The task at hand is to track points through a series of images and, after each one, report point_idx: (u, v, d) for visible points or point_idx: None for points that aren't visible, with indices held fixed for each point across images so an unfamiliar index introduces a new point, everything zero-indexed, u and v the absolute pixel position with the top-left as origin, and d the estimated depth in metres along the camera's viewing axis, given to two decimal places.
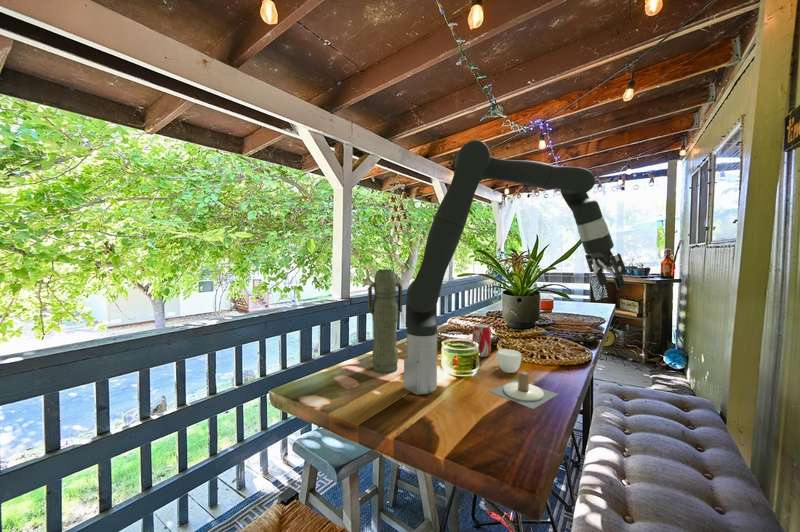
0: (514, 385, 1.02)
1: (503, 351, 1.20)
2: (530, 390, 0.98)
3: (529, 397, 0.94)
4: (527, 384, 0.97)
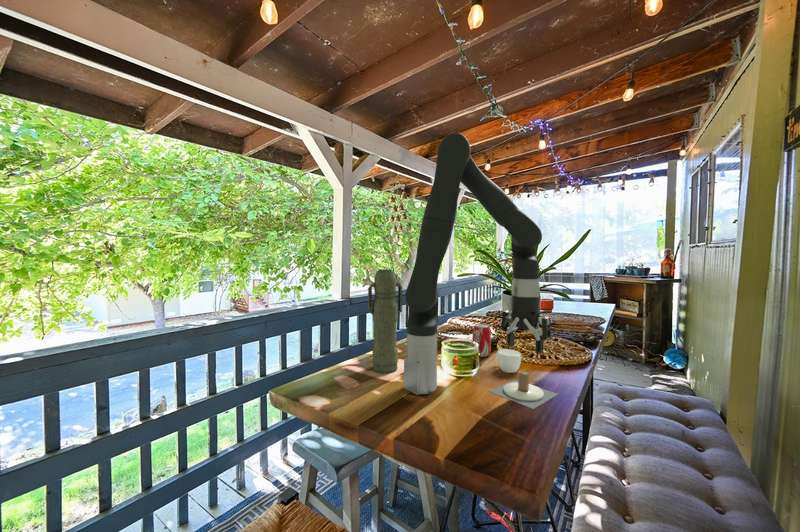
0: (514, 385, 1.02)
1: (503, 351, 1.20)
2: (530, 390, 0.98)
3: (529, 397, 0.94)
4: (527, 384, 0.97)
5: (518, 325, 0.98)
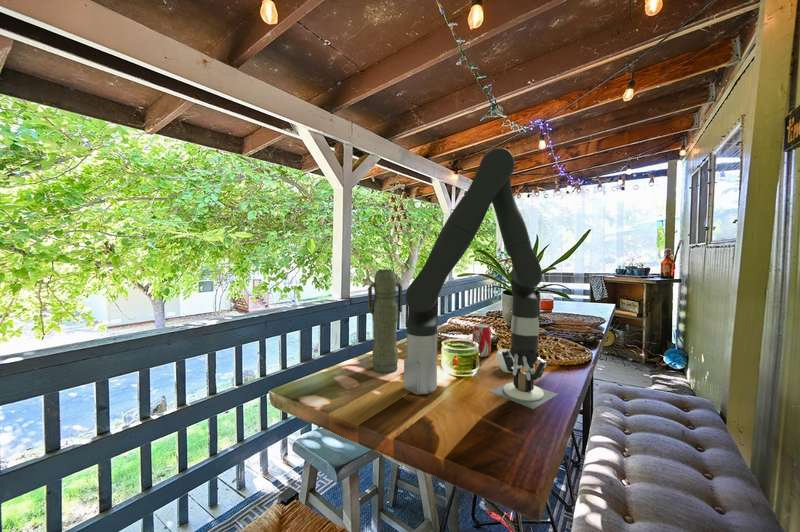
0: (514, 385, 1.02)
1: (503, 351, 1.20)
2: None
3: (529, 397, 0.94)
4: None
5: (520, 362, 0.98)
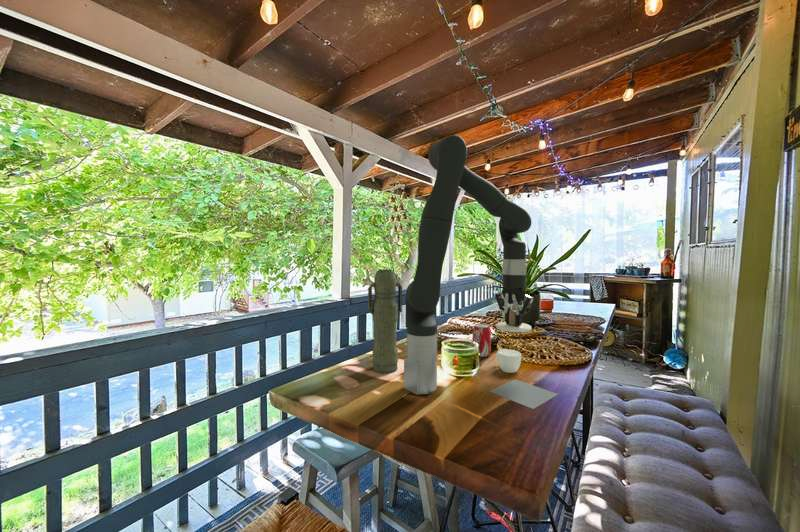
0: None
1: (503, 351, 1.20)
2: None
3: (518, 329, 1.06)
4: None
5: (510, 300, 1.10)
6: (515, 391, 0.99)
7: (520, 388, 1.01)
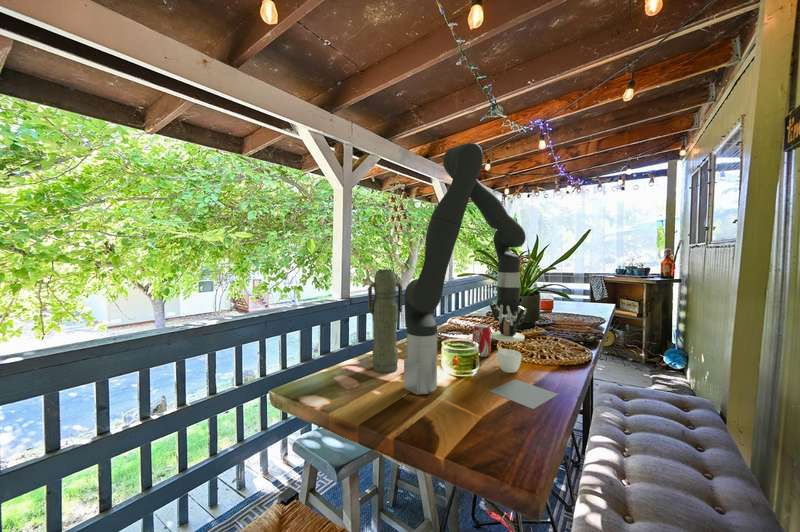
0: None
1: (503, 351, 1.20)
2: None
3: (512, 338, 1.12)
4: None
5: (504, 311, 1.16)
6: (515, 391, 0.99)
7: (520, 388, 1.01)
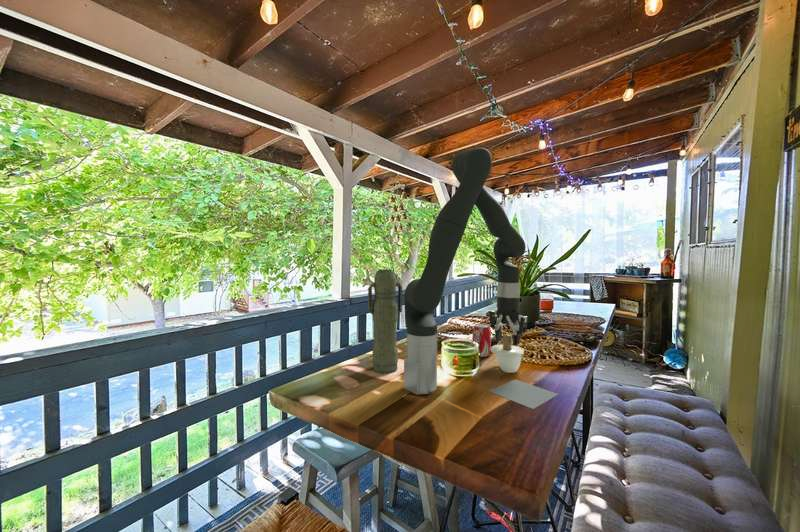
0: (500, 346, 1.20)
1: None
2: (513, 349, 1.17)
3: (511, 353, 1.13)
4: (510, 344, 1.16)
5: (503, 321, 1.17)
6: (515, 391, 0.99)
7: (520, 388, 1.01)
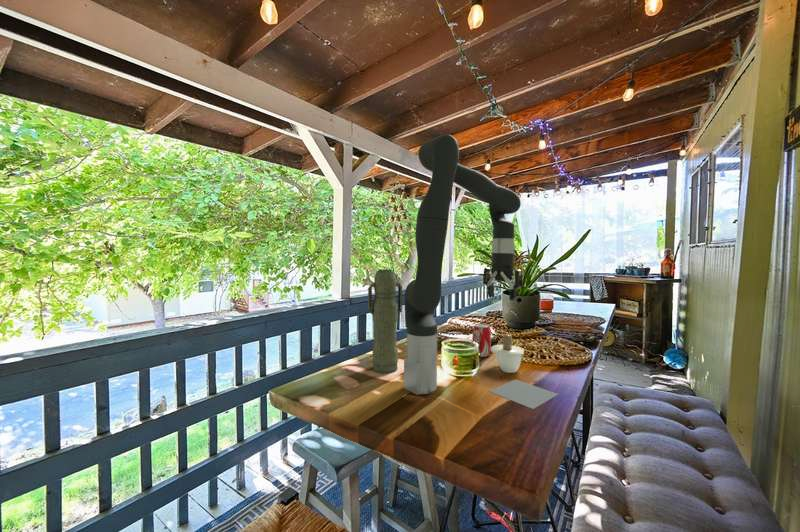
0: (500, 346, 1.20)
1: None
2: (513, 349, 1.17)
3: (511, 353, 1.13)
4: (510, 344, 1.16)
5: (496, 278, 1.17)
6: (515, 391, 0.99)
7: (520, 388, 1.01)
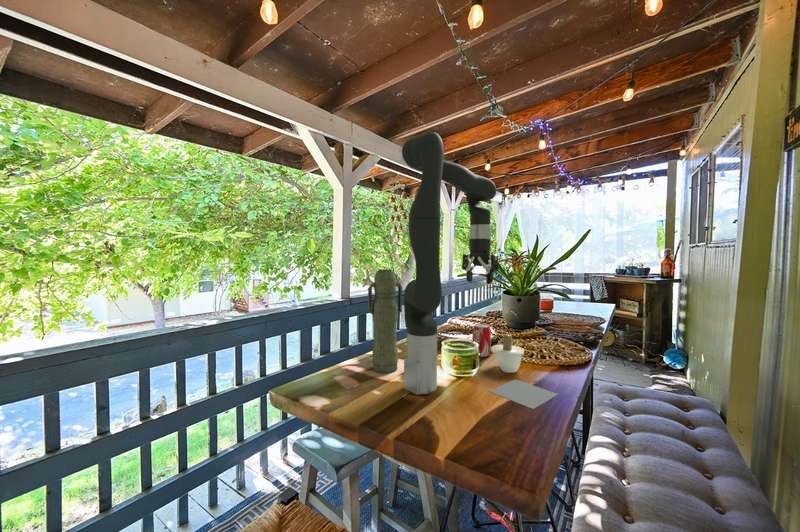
0: (500, 346, 1.20)
1: None
2: (513, 349, 1.17)
3: (512, 353, 1.12)
4: (510, 344, 1.16)
5: (474, 263, 1.21)
6: (515, 391, 0.99)
7: (520, 388, 1.01)
